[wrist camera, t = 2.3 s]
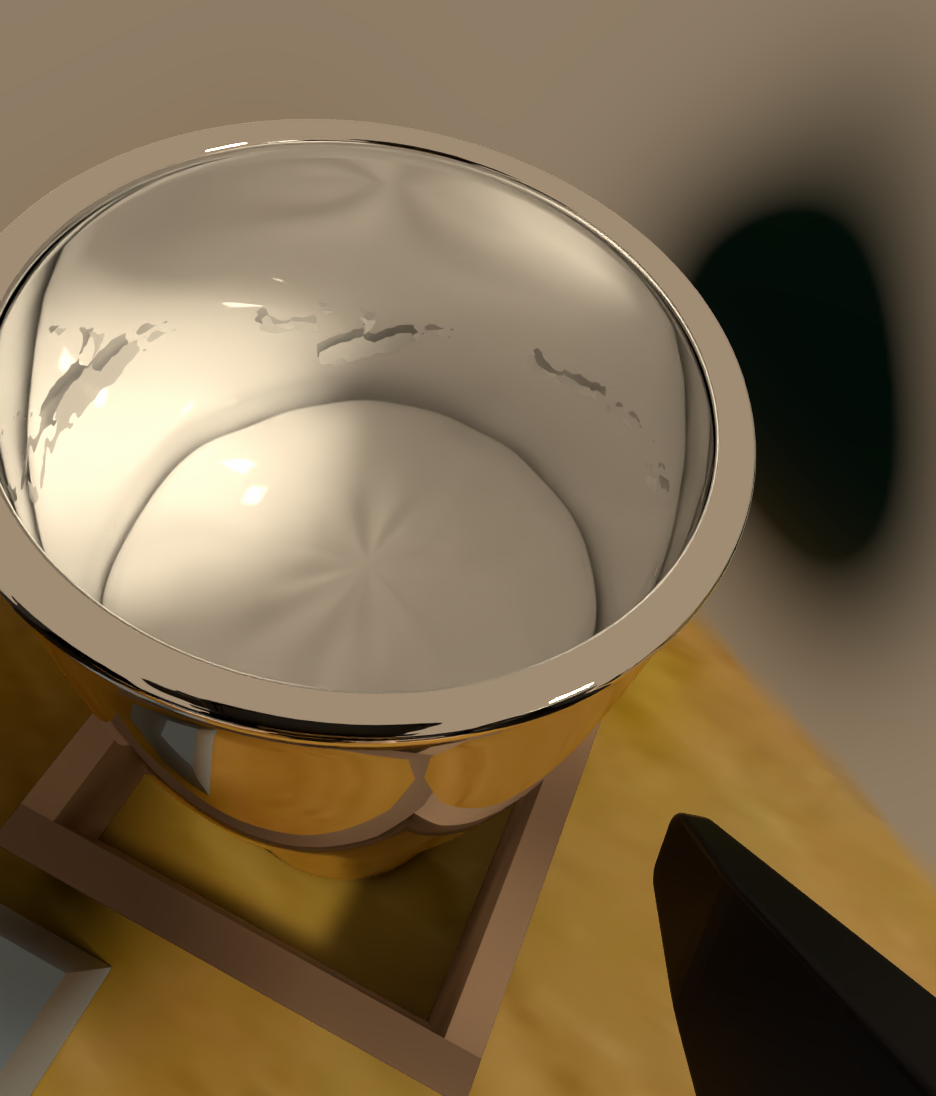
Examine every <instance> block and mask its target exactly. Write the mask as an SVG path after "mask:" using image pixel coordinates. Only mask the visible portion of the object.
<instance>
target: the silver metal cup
mask: <svg viewBox="0 0 936 1096" xmlns="http://www.w3.org/2000/svg"><path fill="white" fill-rule="evenodd" d="M755 464H756V444H755V431H754V424H753V416H752V410H751V405H750V400H749V396H748V392H747V388H746V385H745V382H744V379H743V375H742V372H741V369H740V367H739V364H738V361H737V359H736V357H735V354H734V352H733V350H732V348H731V346H730V343H729V341H728V339H727V337H726V336H725V334H724V332H723V330H722V328H721V326H720V325H719V323H718V321H717V319H716V318H715V316H714V315H713V313H712V311H711V310H710V308H709V307H708V305H707V304H706V302H705V301H704V300H703V298H702V297H701V296H700V294H699V293H698V291H697V290H696V289H695V288H694V286H693V285H692V284H691V283H690V281H689V280H688V279H687V278H686V277H685V275H684V274H683V273H682V272H681V271H680V270H679V269H678V267H677V266H676V265H674V263H673V262H672V261H671V260H670V259H669V258H668V257H667V256H666V255H665V254H664V253H663V252H662V251H661V250H660V249H659V248H658V247H657V246H656V245H654V243H652V242H651V241H650V240H649V239H648V238H647V237H646V236H644V235H643V234H642V233H641V232H640V231H638V230H637V229H636V228H635V227H634V226H632V225H631V224H630V223H629V222H627V221H626V220H625V219H623V218H622V217H620V216H619V215H618V214H616V213H615V212H614V211H612V210H611V209H609V208H608V207H606V206H605V205H603V204H602V203H600V202H599V201H597V200H596V199H594V198H593V197H591V196H589V195H588V194H586V193H584V192H582V191H581V190H579V189H578V188H576V187H574V186H572V185H570V184H569V183H566V182H565V181H563V180H561V179H559V178H557V177H555V176H553V175H551V174H549V173H547V172H545V171H543V170H541V169H539V168H537V167H534V166H532V165H530V164H527V163H525V162H523V161H521V160H518V159H515V158H513V157H511V156H508V155H505V154H502V153H500V152H497V151H494V150H492V149H489V148H486V147H483V146H480V145H477V144H474V143H470V142H466V141H463V140H460V139H456V138H452V137H448V136H445V135H441V134H436V133H432V132H427V131H422V130H418V129H412V128H407V127H401V126H395V125H388V124H380V123H373V122H363V121H362V122H361V121H351V120H332V119H287V120H270V121H258V122H248V123H241V124H233V125H226V126H220V127H214V128H210V129H204V130H199V131H195V132H191V133H186V134H183V135H179V136H175V137H171V138H168V139H164V140H161V141H157V142H154V143H151V144H149V145H145V146H142V147H139V148H137V149H134V150H131V151H129V152H126V153H124V154H121V155H119V156H117V157H114V158H112V159H110V160H107V161H105V162H103V163H101V164H99V165H97V166H95V167H93V168H91V169H89V170H87V171H85V172H83V173H81V174H79V175H78V176H76V177H74V178H72V179H70V180H69V181H67V182H65V183H64V184H62V185H61V186H59V187H57V188H56V189H54V190H53V191H51V192H50V193H48V194H47V195H45V196H44V197H42V198H41V199H40V200H38V201H37V202H36V203H35V204H34V205H32V206H31V207H29V208H28V209H27V210H26V211H25V212H23V213H22V214H21V215H20V216H19V217H17V218H16V219H15V220H14V221H13V222H12V223H11V224H10V225H9V226H8V227H7V228H5V229H4V230H3V231H2V233H0V595H1V596H2V597H3V598H4V600H5V601H6V602H7V603H8V604H9V605H10V606H11V607H12V608H13V609H14V610H15V611H16V612H17V613H18V614H19V615H20V616H21V617H22V618H23V619H24V620H25V621H26V622H27V623H28V624H29V625H30V626H31V627H32V628H33V630H34V631H35V633H36V634H37V636H38V637H39V639H40V640H41V642H42V643H43V645H44V646H45V648H46V649H47V651H48V652H49V654H50V655H51V657H52V658H53V660H54V661H55V663H56V664H57V666H58V667H59V668H60V670H61V671H62V673H63V674H64V675H65V677H66V678H67V679H68V681H69V682H70V684H71V685H72V686H73V688H74V689H75V690H76V692H77V693H78V694H79V696H80V697H81V698H82V700H83V701H84V702H85V704H86V705H87V706H88V708H89V709H90V710H91V712H92V713H93V714H94V716H95V717H96V718H97V720H98V721H99V722H100V723H101V725H102V726H103V727H104V728H105V730H106V731H107V732H108V733H109V734H110V735H111V737H112V738H113V739H114V740H115V741H116V742H117V743H118V744H119V745H120V746H121V747H122V748H123V749H124V750H125V751H126V752H127V754H128V755H129V756H130V757H131V758H132V759H133V760H134V761H135V762H136V763H137V764H138V765H139V766H140V767H141V768H142V769H143V770H144V771H145V772H146V773H147V774H148V775H149V776H150V777H151V778H152V779H153V780H154V781H155V782H156V783H157V784H158V785H159V786H161V787H162V788H163V789H164V790H165V791H166V792H167V793H169V794H170V795H171V796H173V797H174V798H175V799H176V800H178V801H179V802H180V803H182V804H183V805H185V806H186V807H188V808H189V809H191V810H192V811H194V812H195V813H197V814H199V815H200V816H202V817H203V818H205V819H207V820H208V821H210V822H211V823H213V824H215V825H216V826H218V827H220V828H221V829H223V830H225V831H226V832H228V833H230V834H232V835H234V836H236V837H238V838H240V839H242V840H244V841H247V842H249V843H251V844H254V845H256V846H259V847H262V848H264V849H267V850H270V851H271V852H272V853H273V854H274V855H275V856H277V857H278V858H279V859H281V860H282V861H284V862H285V863H287V864H288V865H290V866H292V867H294V868H296V869H298V870H300V871H302V872H305V873H307V874H311V875H314V876H318V877H322V878H328V879H340V880H350V879H360V878H366V877H371V876H375V875H379V874H382V873H385V872H387V871H390V870H392V869H394V868H397V867H398V866H400V865H402V864H404V863H405V862H407V861H409V860H410V859H412V858H413V857H414V856H416V855H417V854H418V853H419V852H420V851H424V850H427V849H429V848H432V847H435V846H438V845H440V844H443V843H445V842H448V841H450V840H452V839H454V838H456V837H458V836H460V835H462V834H464V833H466V832H468V831H470V830H472V829H473V828H475V827H477V826H479V825H480V824H482V823H484V822H485V821H487V820H489V819H491V818H492V817H494V816H496V815H497V814H499V813H501V812H502V811H504V810H505V809H507V808H508V807H510V806H511V805H513V804H514V803H516V802H517V801H518V800H520V799H521V798H522V797H524V796H525V795H526V794H527V793H529V792H530V791H531V790H532V789H533V788H535V787H536V786H537V785H538V784H539V783H540V782H541V781H542V780H543V779H544V778H545V777H546V776H548V775H549V774H550V773H551V772H552V771H553V770H554V769H555V768H556V767H557V766H558V765H559V764H560V763H561V762H562V761H564V760H565V759H566V758H567V757H568V756H569V755H570V754H571V753H572V752H573V751H574V750H575V749H576V748H577V747H578V746H579V745H580V744H581V743H582V742H583V741H584V740H585V738H586V737H587V736H588V735H589V734H590V733H591V731H592V730H593V729H594V728H595V727H596V726H597V724H598V723H599V722H600V721H601V720H602V719H603V717H604V716H605V715H606V714H607V713H608V712H609V710H610V709H611V708H612V707H613V706H614V704H615V703H616V702H617V701H618V700H619V699H620V697H621V696H622V695H623V694H624V693H625V691H626V690H627V689H628V687H629V686H630V685H631V683H632V682H633V681H634V680H635V678H636V677H637V676H638V674H639V673H640V672H641V670H642V669H643V668H644V666H645V665H646V664H647V663H648V661H649V660H650V659H651V657H652V656H654V655H655V654H656V653H657V652H658V651H660V650H661V649H662V648H663V647H664V646H665V645H666V644H667V643H669V642H670V641H671V640H672V639H673V638H674V637H675V636H676V635H677V634H678V633H679V632H680V631H681V630H682V629H683V628H684V627H685V626H686V625H687V624H688V622H689V621H690V620H691V619H692V618H693V617H694V615H695V614H696V613H697V612H698V611H699V609H700V608H701V607H702V606H703V604H704V603H705V601H706V600H707V599H708V598H709V596H710V595H711V593H712V592H713V590H714V589H715V587H716V586H717V584H718V583H719V581H720V579H721V577H722V576H723V574H724V572H725V570H726V569H727V567H728V565H729V563H730V560H731V558H732V556H733V554H734V552H735V550H736V548H737V545H738V543H739V540H740V537H741V535H742V532H743V529H744V526H745V523H746V520H747V516H748V512H749V509H750V505H751V499H752V493H753V487H754V480H755Z"/></svg>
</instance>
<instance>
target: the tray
mask: <svg viewBox="0 0 936 1096" xmlns="http://www.w3.org/2000/svg"><path fill="white" fill-rule="evenodd" d="M111 968H112V967H111V966H109V965H107V964H106V963H104V962H102V961H100V960H99V959H97V958H95V957H93V956H92V955H90V954H88V953H86V952H85V951H83V950H81V949H79V948H78V947H76V946H74V945H72V944H71V943H69V942H67V941H65V940H64V939H62V938H60V937H58V936H57V935H55V934H53V933H51V932H50V931H48V930H46V929H44V928H43V927H41V926H39V925H37V924H36V923H34V922H32V921H30V920H29V919H27V918H25V917H23V916H22V915H20V914H18V913H16V912H15V911H13V910H11V909H9V908H7V907H6V906H4V905H2V904H0V1096H30V1095H31V1094H32V1092H33V1091H34V1089H35V1088H36V1086H37V1084H38V1083H39V1081H40V1080H41V1078H42V1077H43V1075H44V1073H45V1072H46V1070H47V1069H48V1067H49V1066H50V1064H51V1062H52V1061H53V1059H54V1058H55V1056H56V1055H57V1053H58V1051H59V1050H60V1048H61V1047H62V1045H63V1044H64V1042H65V1040H66V1039H67V1037H68V1036H69V1034H70V1033H71V1031H72V1029H73V1028H74V1026H75V1025H76V1023H77V1022H78V1020H79V1018H80V1017H81V1015H82V1014H83V1012H84V1011H85V1009H86V1007H87V1006H88V1004H89V1003H90V1001H91V1000H92V998H93V996H94V995H95V993H96V992H97V990H98V989H99V987H100V985H101V984H102V982H103V981H104V979H105V978H106V976H107V975H108V973H109V971H110V970H111Z"/></svg>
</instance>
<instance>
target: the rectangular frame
mask: <svg viewBox="0 0 936 1096" xmlns="http://www.w3.org/2000/svg"><path fill="white" fill-rule="evenodd" d="M600 722H601V721H600ZM600 722H599V723H598V724H597V726H596V727H595V728H594V729H593V730H592V731H591V733H590V734H589V735H588V736H587V737H586V738H585V740H584V741H583V742H582V743H581V744H580V745H579V746H578V747H577V748H576V749H575V750H574V751H573V752H572V753H571V754H570V755H569V756H568V757H567V758H566V759H565V760H564V761H562V762H561V763H560V764H559V765H558V766H557V767H556V768H555V769H554V770H553V771H552V772H551V773H550V774H549V775H548V776H546V777H545V778H544V779H543V780H542V781H541V782H540V783H539V784H538V785H537V786H536V787H535V788H533V789H532V790H531V791H530V792H529V793H527V794H526V795H525V796H524V797H522V798H521V799H520V800H518V801H517V802H516V803H515V804H514V806H513V809H512V811H511V814H510V816H509V819H508V821H507V824H506V826H505V829H504V831H503V834H502V836H501V839H500V841H499V844H498V846H497V849H496V851H495V854H494V856H493V859H492V861H491V864H490V866H489V869H488V871H487V874H486V876H485V879H484V881H483V884H482V886H481V889H480V891H479V894H478V896H477V899H476V901H475V904H474V906H473V909H472V912H471V914H470V917H469V919H468V922H467V924H466V927H465V929H464V932H463V934H462V937H461V939H460V942H459V944H458V947H457V949H456V952H455V954H454V957H453V959H452V962H451V964H450V967H449V969H448V972H447V974H446V977H445V979H444V982H443V984H442V987H441V989H440V992H439V994H438V997H437V999H436V1002H435V1004H434V1007H433V1009H432V1012H431V1014H430V1017H429V1019H428V1022H427V1021H425V1020H424V1019H422V1018H420V1017H418V1016H416V1015H415V1014H413V1013H411V1012H409V1011H407V1010H406V1009H404V1008H402V1007H400V1006H398V1005H397V1004H395V1003H393V1002H391V1001H389V1000H388V999H386V998H384V997H382V996H380V995H379V994H377V993H375V992H373V991H371V990H369V989H368V988H366V987H364V986H362V985H360V984H359V983H357V982H355V981H353V980H351V979H350V978H348V977H346V976H344V975H342V974H341V973H339V972H337V971H335V970H333V969H332V968H330V967H328V966H326V965H324V964H322V963H321V962H319V961H317V960H315V959H313V958H312V957H310V956H308V955H306V954H304V953H303V952H301V951H299V950H297V949H295V948H294V947H292V946H290V945H288V944H286V943H285V942H283V941H281V940H279V939H277V938H276V937H274V936H272V935H270V934H268V933H266V932H265V931H263V930H261V929H259V928H257V927H256V926H254V925H252V924H250V923H248V922H247V921H245V920H243V919H241V918H239V917H238V916H236V915H234V914H232V913H230V912H229V911H227V910H225V909H223V908H221V907H220V906H218V905H216V904H214V903H212V902H210V901H209V900H207V899H205V898H203V897H201V896H200V895H198V894H196V893H194V892H192V891H191V890H189V889H187V888H185V887H183V886H182V885H180V884H178V883H176V882H174V881H173V880H171V879H169V878H167V877H165V876H163V875H162V874H160V873H158V872H156V871H154V870H153V869H151V868H149V867H147V866H145V865H144V864H142V863H140V862H138V861H136V860H135V859H133V858H131V857H129V856H127V855H126V854H124V853H122V852H120V851H118V850H117V849H115V848H113V847H111V846H109V845H107V844H106V843H104V842H102V841H100V840H98V839H99V837H100V836H101V835H102V833H103V832H104V830H105V829H106V827H107V826H108V825H109V823H110V822H111V820H112V819H113V818H114V816H115V815H116V813H117V812H118V811H119V809H120V808H121V806H122V805H123V804H124V802H125V801H126V799H127V798H128V797H129V795H130V794H131V792H132V791H133V790H134V788H135V787H136V785H137V784H138V782H139V781H140V780H141V778H142V777H143V775H144V774H145V773H146V772H145V771H144V770H143V769H142V768H141V767H140V766H139V765H138V764H137V763H136V762H135V761H134V760H133V759H132V758H131V757H130V756H129V755H128V754H127V752H126V751H125V750H124V749H123V748H122V747H121V746H120V745H119V744H118V743H117V742H116V741H115V740H114V739H113V738H112V737H111V735H110V734H109V733H108V732H107V731H106V730H105V728H104V727H103V726H102V725H101V723H100V722H99V721H98V720H97V718H96V717H95V716H94V714H93V713H92V714H91V715H90V716H89V718H88V719H87V720H86V721H85V723H84V724H83V725H82V726H81V728H80V729H79V730H78V731H77V733H76V734H75V735H74V736H73V738H72V739H71V740H70V742H69V743H68V744H67V745H66V747H65V748H64V749H63V750H62V752H61V753H60V754H59V755H58V757H57V758H56V759H55V760H54V762H53V763H52V764H51V765H50V767H49V768H48V769H47V770H46V772H45V773H44V774H43V776H42V777H41V778H40V779H39V781H38V782H37V783H36V784H35V786H34V787H33V788H32V789H31V791H30V792H29V793H28V794H27V796H26V797H25V798H24V799H23V801H22V802H21V803H20V805H19V806H18V807H17V808H16V810H15V811H14V812H13V813H12V815H11V816H10V817H9V818H8V820H7V821H6V822H5V823H4V825H3V826H2V827H1V828H0V847H2V848H4V849H6V850H7V851H9V852H11V853H13V854H14V855H16V856H18V857H20V858H22V859H23V860H25V861H27V862H29V863H30V864H32V865H34V866H36V867H38V868H39V869H41V870H43V871H45V872H46V873H48V874H50V875H52V876H54V877H55V878H57V879H59V880H61V881H62V882H64V883H66V884H68V885H70V886H71V887H73V888H75V889H77V890H78V891H80V892H82V893H84V894H86V895H87V896H89V897H91V898H93V899H94V900H96V901H98V902H100V903H102V904H103V905H105V906H107V907H109V908H110V909H112V910H114V911H116V912H118V913H119V914H121V915H123V916H125V917H126V918H128V919H130V920H132V921H134V922H135V923H137V924H139V925H141V926H142V927H144V928H146V929H148V930H150V931H151V932H153V933H155V934H157V935H158V936H160V937H162V938H164V939H166V940H167V941H169V942H171V943H173V944H175V945H176V946H178V947H180V948H182V949H183V950H185V951H187V952H189V953H191V954H192V955H194V956H196V957H198V958H199V959H201V960H203V961H205V962H207V963H208V964H210V965H212V966H214V967H215V968H217V969H219V970H221V971H223V972H224V973H226V974H228V975H230V976H231V977H233V978H235V979H237V980H239V981H240V982H242V983H244V984H246V985H247V986H249V987H251V988H253V989H255V990H256V991H258V992H260V993H262V994H263V995H265V996H267V997H269V998H271V999H272V1000H274V1001H276V1002H278V1003H279V1004H281V1005H283V1006H285V1007H287V1008H288V1009H290V1010H292V1011H294V1012H295V1013H297V1014H299V1015H301V1016H303V1017H304V1018H306V1019H308V1020H310V1021H311V1022H313V1023H315V1024H317V1025H319V1026H320V1027H322V1028H324V1029H326V1030H327V1031H329V1032H331V1033H333V1034H335V1035H336V1036H338V1037H340V1038H342V1039H343V1040H345V1041H347V1042H349V1043H351V1044H352V1045H354V1046H356V1047H358V1048H359V1049H361V1050H363V1051H365V1052H367V1053H368V1054H370V1055H372V1056H374V1057H375V1058H377V1059H379V1060H381V1061H383V1062H384V1063H386V1064H388V1065H390V1066H391V1067H393V1068H395V1069H397V1070H399V1071H400V1072H402V1073H404V1074H406V1075H407V1076H409V1077H411V1078H413V1079H415V1080H416V1081H418V1082H420V1083H422V1084H423V1085H425V1086H427V1087H429V1088H431V1089H432V1090H434V1091H436V1092H438V1093H439V1094H441V1095H443V1096H468V1095H469V1092H470V1089H471V1087H472V1084H473V1081H474V1078H475V1075H476V1073H477V1070H478V1067H479V1064H480V1061H481V1058H482V1056H483V1053H484V1050H485V1047H486V1044H487V1041H488V1039H489V1036H490V1033H491V1030H492V1027H493V1024H494V1022H495V1019H496V1016H497V1013H498V1010H499V1008H500V1005H501V1002H502V999H503V996H504V993H505V991H506V988H507V985H508V982H509V979H510V976H511V974H512V971H513V968H514V965H515V962H516V959H517V957H518V954H519V951H520V948H521V945H522V943H523V940H524V937H525V934H526V931H527V928H528V926H529V923H530V920H531V917H532V914H533V911H534V909H535V906H536V903H537V900H538V897H539V895H540V892H541V889H542V886H543V883H544V880H545V878H546V875H547V872H548V869H549V866H550V863H551V861H552V858H553V855H554V852H555V849H556V846H557V844H558V841H559V838H560V835H561V832H562V830H563V827H564V824H565V821H566V818H567V815H568V813H569V810H570V807H571V804H572V801H573V798H574V796H575V793H576V790H577V787H578V784H579V782H580V779H581V776H582V773H583V770H584V767H585V765H586V762H587V759H588V756H589V753H590V750H591V748H592V745H593V742H594V739H595V736H596V733H597V731H598V728H599V725H600Z"/></svg>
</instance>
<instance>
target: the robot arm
mask: <svg viewBox="0 0 936 1096" xmlns="http://www.w3.org/2000/svg"><path fill="white" fill-rule="evenodd" d="M653 885H654V892H655V898H656V904H657V911H658V917H659V923H660V930H661V936H662V942H663V948H664V955H665V961H666V967H667V974H668V980H669V986H670V992H671V997H672V1002H673V1008H674V1012H675V1016H676V1020H677V1024H678V1029H679V1033H680V1036H681V1040H682V1044H683V1048H684V1052H685V1055H686V1059H687V1063H688V1067H689V1071H690V1074H691V1078H692V1082H693V1086H694V1090H695V1093H696V1096H936V997H934V996H933V995H932V994H931V993H929V992H928V991H927V990H926V989H924V988H923V987H922V986H921V985H919V984H918V983H917V982H915V981H914V980H913V979H912V978H910V977H909V976H908V975H907V974H905V973H904V972H903V971H902V970H900V969H899V968H898V967H896V966H895V965H894V964H893V963H891V962H890V961H889V960H888V959H886V958H885V957H884V956H883V955H881V954H880V953H879V952H877V951H876V950H875V949H874V948H872V947H871V946H870V945H869V944H867V943H866V942H865V941H864V940H862V939H861V938H860V937H858V936H857V935H856V934H855V933H853V932H852V931H851V930H850V929H848V928H847V927H846V926H845V925H843V924H842V923H841V922H839V921H838V920H837V919H836V918H834V917H833V916H832V915H831V914H829V913H828V912H827V911H826V910H824V909H823V908H822V907H820V906H819V905H818V904H817V903H815V902H814V901H813V900H812V899H810V898H809V897H808V896H807V895H805V894H804V893H803V892H801V891H800V890H799V889H798V888H796V887H795V886H794V885H793V884H791V883H790V882H789V881H788V880H786V879H785V878H784V877H782V876H781V875H780V874H779V873H777V872H776V871H775V870H774V869H772V868H771V867H770V866H769V865H767V864H766V863H765V862H763V861H762V860H761V859H760V858H758V857H757V856H756V855H755V854H753V853H752V852H751V851H750V850H748V849H747V848H746V847H744V846H743V845H742V844H741V843H739V842H738V841H737V840H736V839H734V838H733V837H732V836H731V835H729V834H728V833H727V832H725V831H724V830H723V829H722V828H720V827H719V826H718V825H717V824H715V823H714V822H713V821H712V820H710V819H708V818H705V817H701V816H696V815H691V814H686V813H678V814H676V815H674V817H673V818H672V820H671V822H670V824H669V826H668V829H667V832H666V835H665V838H664V841H663V844H662V846H661V849H660V852H659V855H658V858H657V861H656V864H655V867H654V874H653Z"/></svg>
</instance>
